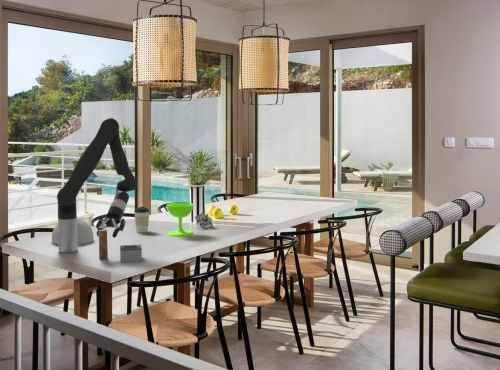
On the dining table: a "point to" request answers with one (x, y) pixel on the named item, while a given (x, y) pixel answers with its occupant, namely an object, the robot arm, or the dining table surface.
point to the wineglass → (180, 217)
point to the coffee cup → (141, 219)
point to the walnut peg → (103, 245)
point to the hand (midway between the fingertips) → (105, 236)
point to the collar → (130, 253)
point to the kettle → (82, 233)
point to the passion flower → (204, 220)
